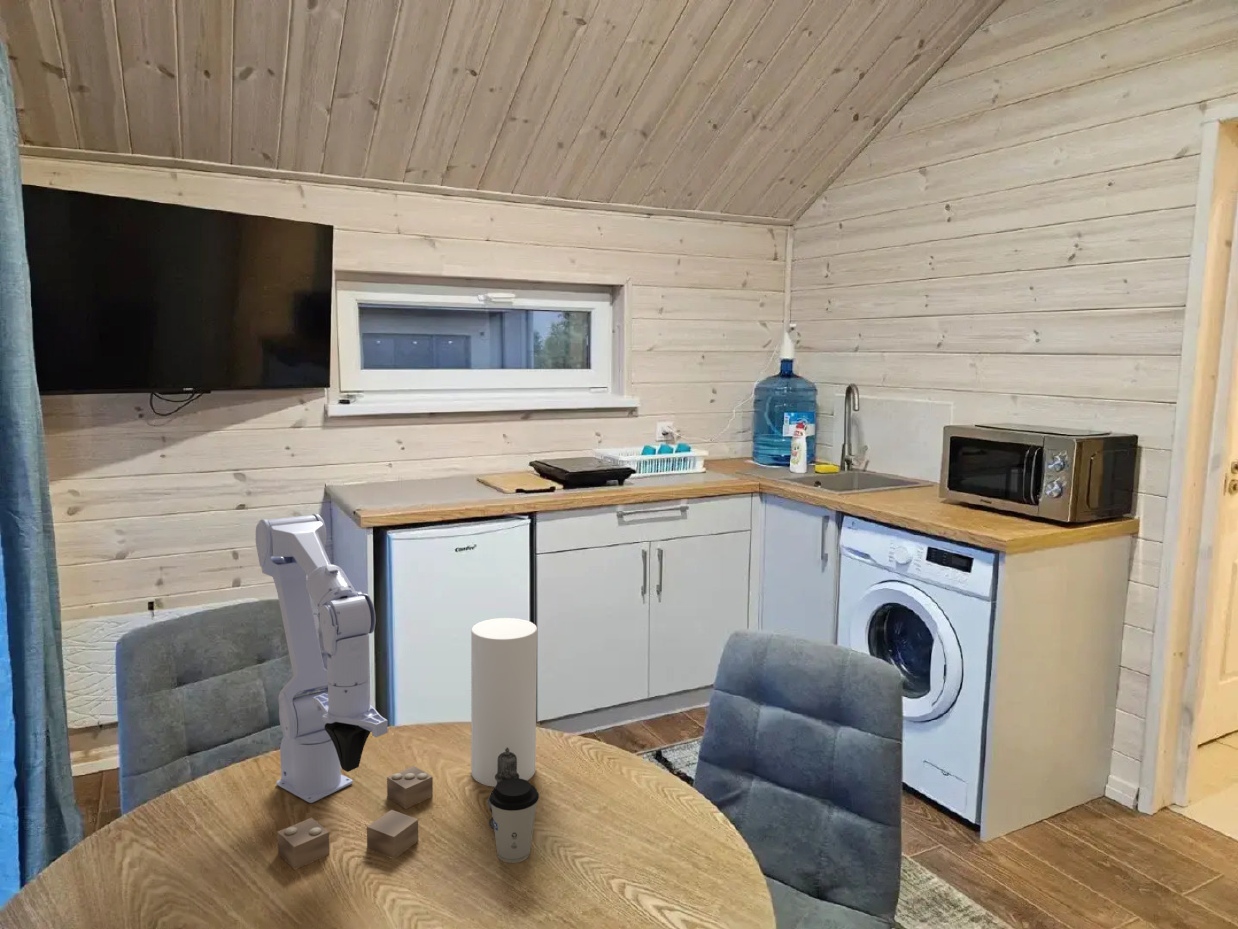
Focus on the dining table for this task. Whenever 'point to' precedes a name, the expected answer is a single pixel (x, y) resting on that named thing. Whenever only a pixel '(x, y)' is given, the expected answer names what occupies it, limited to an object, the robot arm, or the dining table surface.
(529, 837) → the coffee cup
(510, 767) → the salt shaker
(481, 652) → the tall pillar cylinder
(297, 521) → the robot arm
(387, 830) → the plain block
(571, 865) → the dining table surface
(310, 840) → the two-dot block
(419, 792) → the three-dot block
